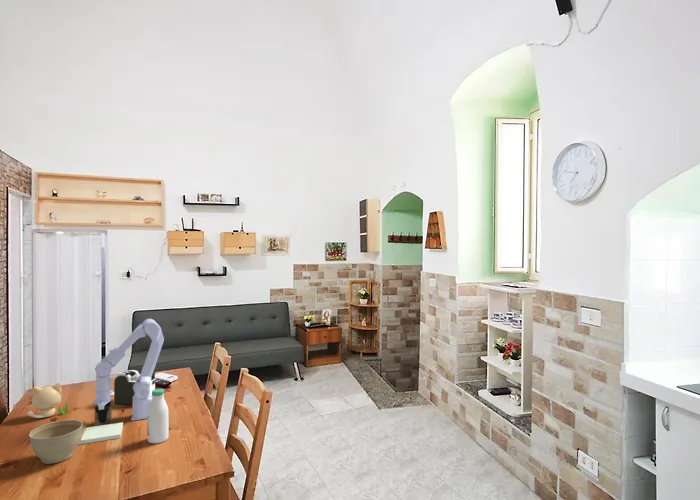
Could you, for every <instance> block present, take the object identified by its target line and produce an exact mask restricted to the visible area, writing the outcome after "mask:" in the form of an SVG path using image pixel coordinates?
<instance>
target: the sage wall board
mask: <svg viewBox="0 0 700 500" xmlns="http://www.w3.org/2000/svg"><path fill="white" fill-rule="evenodd" d="M123 427H124V422H117V423H111V424H108V425H101V426H95V425H94V426H89V427H86V429H85V431H84V434H83V436H82V439H81V441H79V442H78V445H77V446H79V445H85V444H91V443H98V442H103V441H109V440H115V439H121V437H122V432H123Z"/></svg>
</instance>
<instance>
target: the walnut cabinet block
mask: <svg viewBox="0 0 700 500" xmlns="http://www.w3.org/2000/svg"><path fill="white" fill-rule="evenodd" d="M112 411H113V410H112V406H110V408H109V409H108V412H107V417H106V422H104V423H100V422H99V418H98V414H97V412H96V411H95V410H94V426H101V425H108V424H112V421H113V420H112V416H113V415H112V413H113V412H112Z"/></svg>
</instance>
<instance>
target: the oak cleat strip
mask: <svg viewBox="0 0 700 500" xmlns="http://www.w3.org/2000/svg"><path fill="white" fill-rule="evenodd" d="M86 428H87V424H83V426H82V433H81V437H80V440H79V441H81V439H82V436H83V434H84V431H85V429H86Z"/></svg>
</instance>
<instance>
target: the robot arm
mask: <svg viewBox="0 0 700 500" xmlns="http://www.w3.org/2000/svg"><path fill="white" fill-rule="evenodd" d="M146 336H148V337H149V338H150V339H151V343H150V346H149V349H148V352H147V353H146V354H147V355H146V358H145V360H144V363H143V365H142V369H141V373H139V374H140V376H139V377H138V380H137V381H136V382H135V383H134V385H133V390H134V392H135V394H134V396H133V405H132V414H131V419H130V420H131V421H137V420H138V421H139V420H143V419H144V420H145V419H148V409H149V406H150V404H151V402H152V395H150V384H151V377H152V374H153V371H155V368H156V365H157V362H158V359H159V356H160V353H161V350H162V347H163V344H164V341H165V337H164V334H163V331H162V328H161V326H160V324H158V323H157V322H156V320H155V319H154V318H153V319H152V318H147V319H145V320H143V321H142V323H140V324H139V325H138V326H136V328H135V329H134V330H133V331H132V332H131V333H130V335H128V337H127V338H126V339H125V340H124V341H123V342H122V343H121V344H120V345H119V346H118V347H116V346H115V347H114V348H111V349H110V350H109V351H108V352H109V353H108V354H107V355H106V356H105V357H104V358H101V359H100V362H98V363H97V364H96V365H95V367H94V370H95V374H96V375H95V399H93V400H92V404H96V406H95V407H94V412H95V411H96V412H97V414H98V418H99V422H100V423H104V422H106V417H107V412H108V409H109V408H110V407H111V404H112V395H111V391H112V390H111V389H112V387H111V385H112V384H111V382H112V380H111V373H112V369H113V368H115V367H116V366H117V365H118V364H119V363H120V361H121V360H123V358H124V357H125V356H126V351H127V350H128V349H129V348H131V346H132V345H133V344H134V343H135V342H137V340H138V339H140V338H144V337H146Z"/></svg>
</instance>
